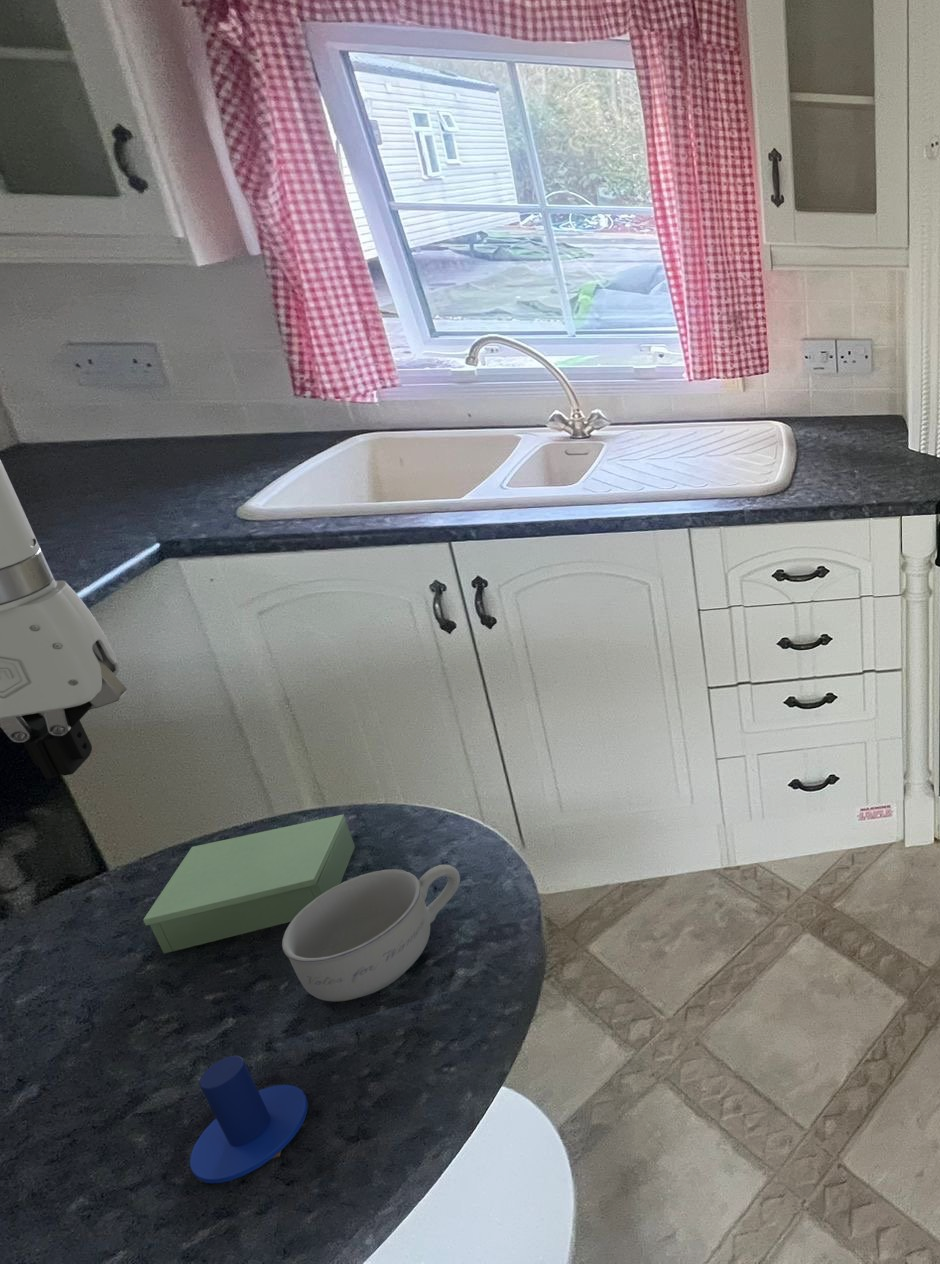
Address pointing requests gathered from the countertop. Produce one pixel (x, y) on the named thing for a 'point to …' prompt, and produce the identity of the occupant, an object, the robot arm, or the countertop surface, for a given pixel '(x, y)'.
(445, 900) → the teacup
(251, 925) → the green wooden box
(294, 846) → the hatch
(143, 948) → the countertop surface
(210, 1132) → the blue cylinder on disc
